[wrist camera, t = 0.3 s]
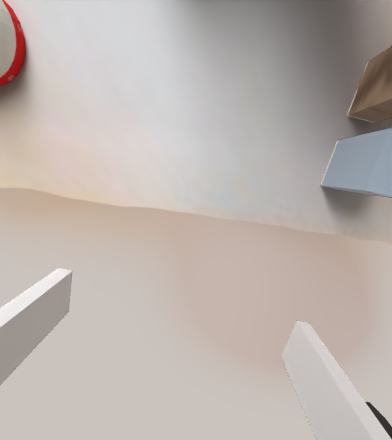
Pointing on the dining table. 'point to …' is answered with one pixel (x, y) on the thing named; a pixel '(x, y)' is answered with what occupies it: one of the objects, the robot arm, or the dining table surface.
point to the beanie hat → (10, 44)
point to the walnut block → (374, 90)
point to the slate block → (362, 164)
